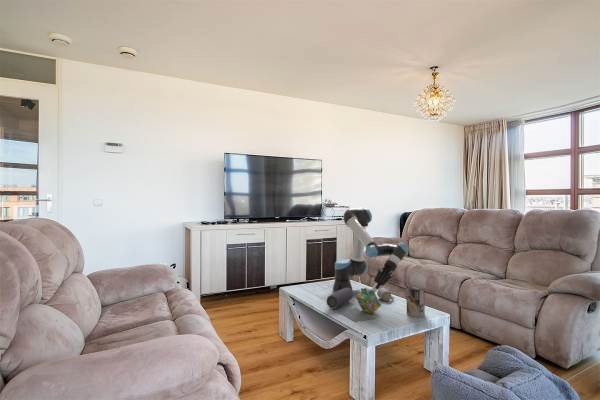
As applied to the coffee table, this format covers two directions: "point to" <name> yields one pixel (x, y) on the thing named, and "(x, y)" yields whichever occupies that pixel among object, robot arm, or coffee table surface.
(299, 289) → the coffee table surface
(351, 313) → the mat
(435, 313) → the coffee table surface
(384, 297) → the ceramic mug
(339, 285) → the robot arm
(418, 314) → the coffee box
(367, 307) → the chalk box
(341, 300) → the bluetooth speaker
